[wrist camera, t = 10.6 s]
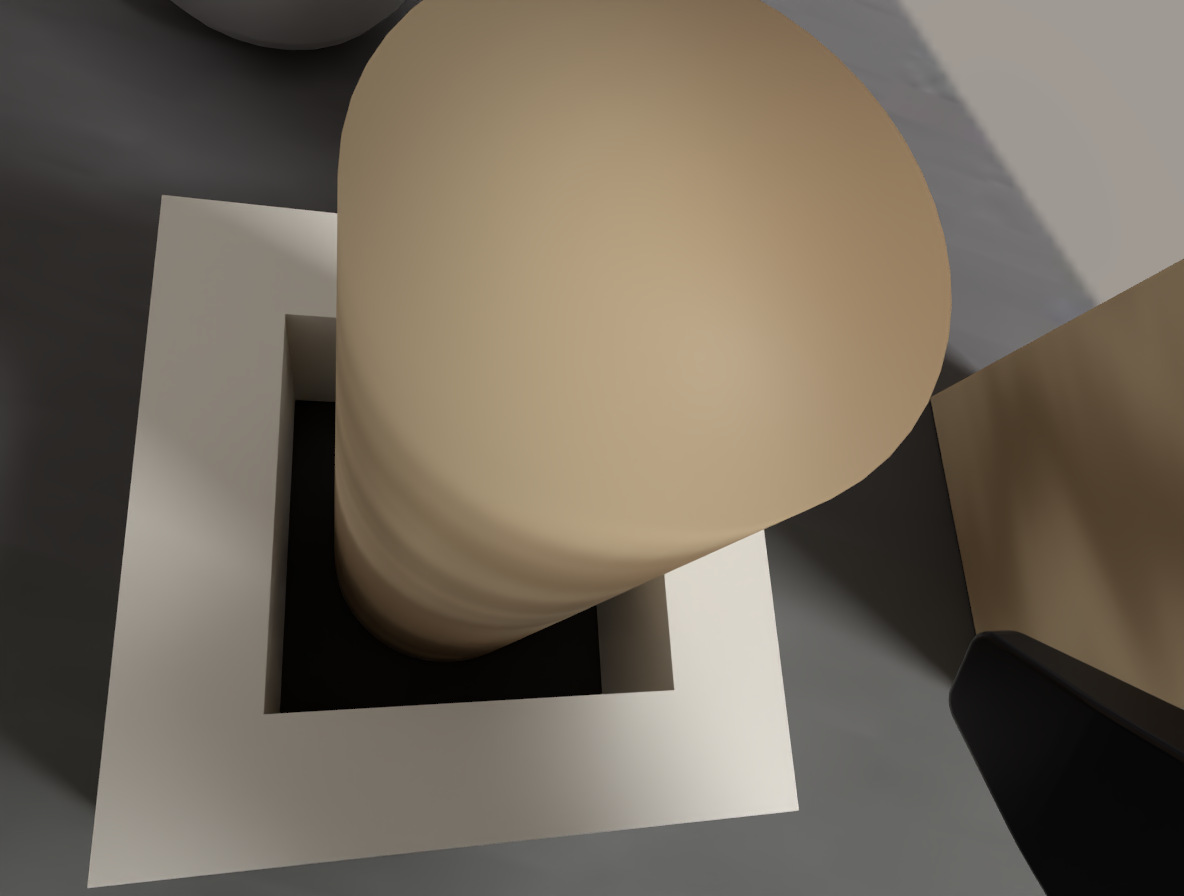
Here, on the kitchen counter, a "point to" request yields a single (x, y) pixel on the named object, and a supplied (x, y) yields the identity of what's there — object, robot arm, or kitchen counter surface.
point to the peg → (609, 304)
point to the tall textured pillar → (1080, 486)
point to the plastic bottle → (290, 20)
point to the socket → (387, 734)
